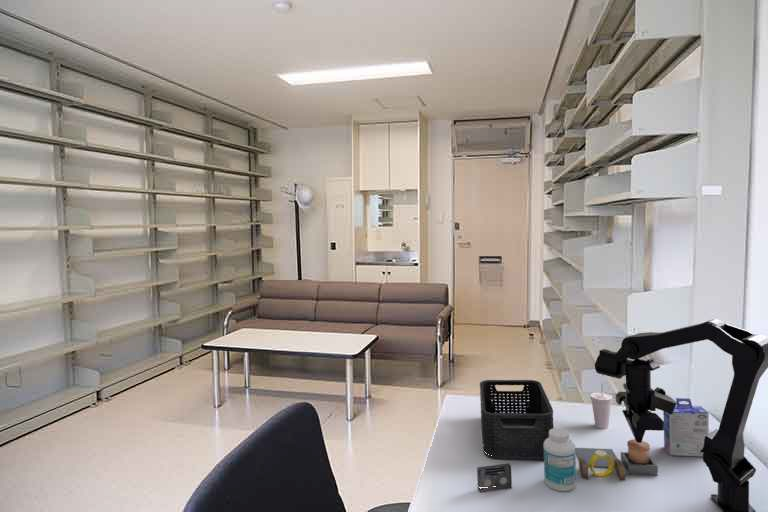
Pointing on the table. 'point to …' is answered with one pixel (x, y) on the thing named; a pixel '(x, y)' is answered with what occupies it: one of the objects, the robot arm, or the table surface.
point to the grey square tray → (639, 466)
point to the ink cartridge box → (685, 429)
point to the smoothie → (601, 408)
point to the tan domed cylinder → (638, 451)
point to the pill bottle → (559, 460)
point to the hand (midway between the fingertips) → (638, 441)
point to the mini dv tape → (494, 477)
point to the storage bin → (515, 420)
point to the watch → (601, 455)
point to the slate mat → (599, 462)
